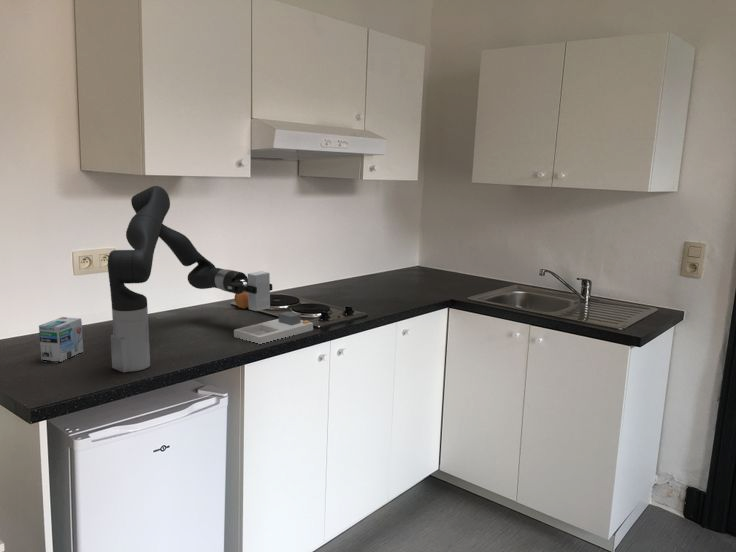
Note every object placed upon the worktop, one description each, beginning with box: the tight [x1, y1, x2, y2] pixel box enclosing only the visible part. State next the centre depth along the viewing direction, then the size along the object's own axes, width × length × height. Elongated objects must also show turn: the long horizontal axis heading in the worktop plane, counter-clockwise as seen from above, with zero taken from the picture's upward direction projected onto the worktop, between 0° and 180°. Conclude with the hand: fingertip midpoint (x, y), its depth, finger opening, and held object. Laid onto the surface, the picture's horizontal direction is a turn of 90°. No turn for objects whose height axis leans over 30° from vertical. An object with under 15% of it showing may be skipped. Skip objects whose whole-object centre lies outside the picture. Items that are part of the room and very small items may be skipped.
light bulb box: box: [38, 316, 84, 362], centre depth 182 cm, size 11×7×11 cm, turn 170°
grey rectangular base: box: [233, 311, 314, 345], centre depth 211 cm, size 24×13×6 cm, turn 140°
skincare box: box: [247, 270, 271, 312], centre depth 203 cm, size 6×4×12 cm
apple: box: [234, 292, 249, 310], centre depth 245 cm, size 7×7×8 cm
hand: (263, 289), depth 202 cm, fingers closed on skincare box, 6 cm apart
